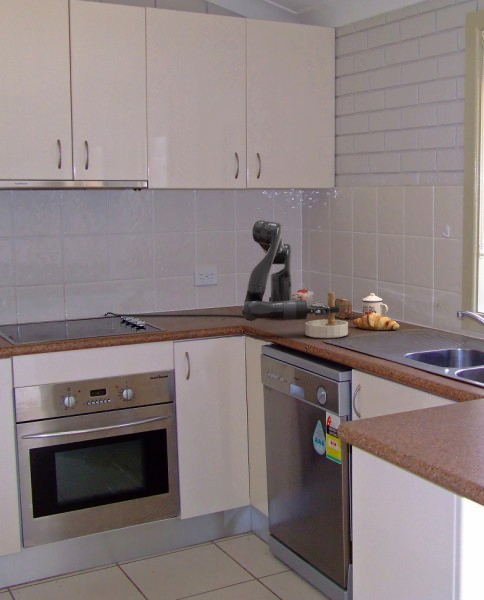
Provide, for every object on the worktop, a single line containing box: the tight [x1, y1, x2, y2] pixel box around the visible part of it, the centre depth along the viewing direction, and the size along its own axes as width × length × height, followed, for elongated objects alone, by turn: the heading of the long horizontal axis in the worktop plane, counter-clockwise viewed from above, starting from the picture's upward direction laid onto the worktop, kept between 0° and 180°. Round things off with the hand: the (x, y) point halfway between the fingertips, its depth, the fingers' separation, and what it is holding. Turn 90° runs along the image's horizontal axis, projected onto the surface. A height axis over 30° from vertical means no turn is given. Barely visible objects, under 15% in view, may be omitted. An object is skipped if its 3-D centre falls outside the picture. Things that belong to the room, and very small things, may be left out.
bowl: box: [304, 319, 349, 339], centre depth 327 cm, size 17×17×5 cm
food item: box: [292, 288, 315, 306], centre depth 401 cm, size 14×8×10 cm, turn 158°
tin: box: [335, 297, 353, 320], centre depth 374 cm, size 15×3×8 cm, turn 25°
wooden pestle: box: [326, 291, 337, 326], centre depth 327 cm, size 4×4×16 cm
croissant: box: [351, 312, 400, 331], centre depth 343 cm, size 21×10×8 cm, turn 65°
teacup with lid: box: [361, 292, 389, 317], centre depth 367 cm, size 12×9×12 cm
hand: (338, 309), depth 327 cm, fingers closed on wooden pestle, 2 cm apart
